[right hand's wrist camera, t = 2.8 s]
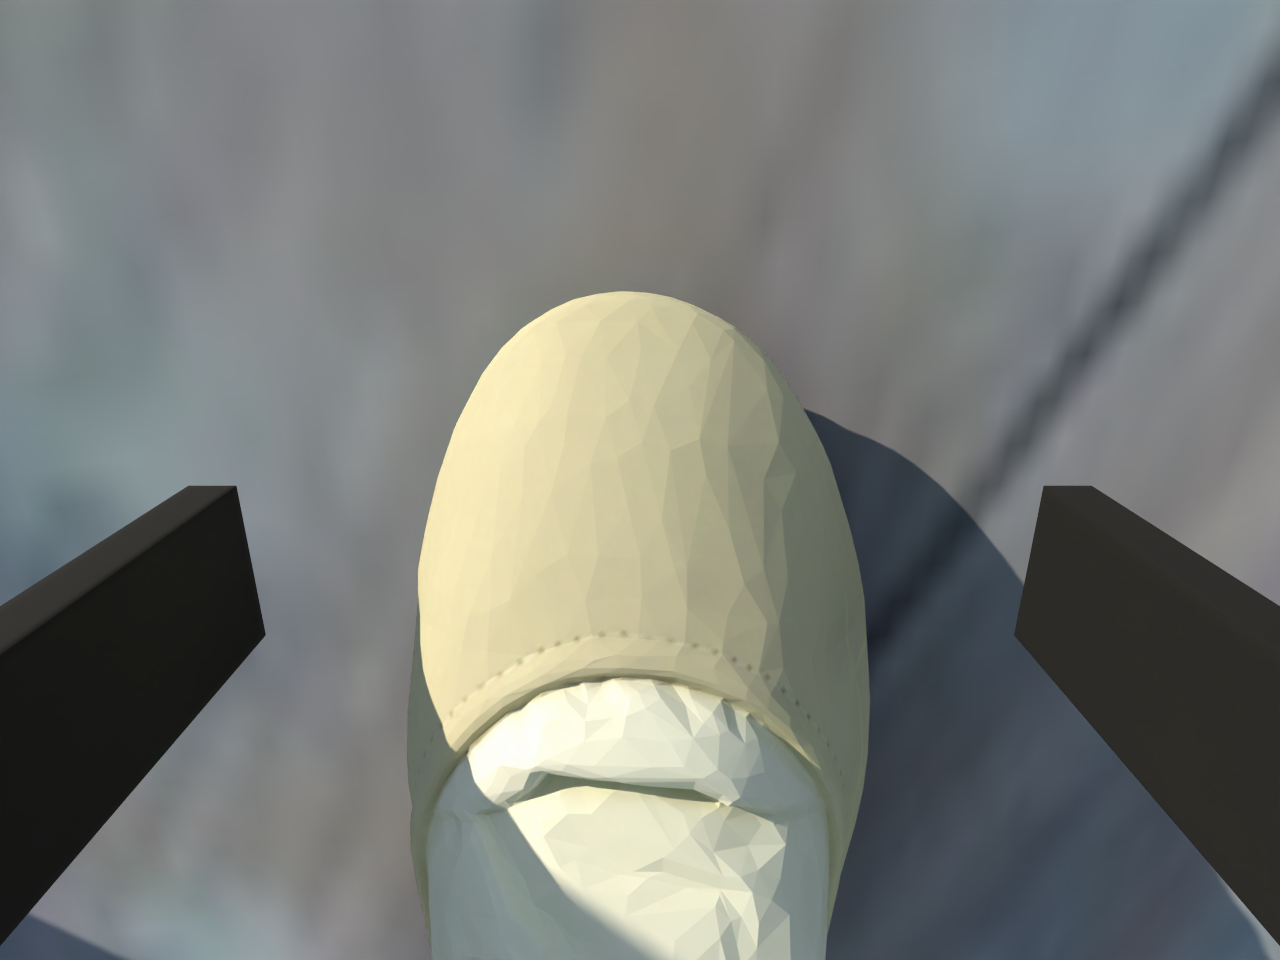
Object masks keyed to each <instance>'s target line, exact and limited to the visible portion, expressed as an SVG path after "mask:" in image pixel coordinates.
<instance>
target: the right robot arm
mask: <svg viewBox="0 0 1280 960" xmlns="http://www.w3.org/2000/svg"><path fill="white" fill-rule="evenodd" d="M265 635H266V634H265V629H264V624H263V619H262V614H261V609H260V604H259V599H258V594H257V589H256V584H255V578H254V573H253V568H252V563H251V558H250V553H249V548H248V543H247V538H246V533H245V528H244V523H243V517H242V512H241V507H240V502H239V497H238V492H237V487H236V486H187V487H186V488H184V489H183V490H181V491H180V492H178V493H177V494H175V495H173V496H172V497H170V498H169V499H167V500H166V501H164V502H162V503H161V504H159V505H158V506H156V507H155V508H153V509H152V510H150V511H148V512H147V513H145V514H144V515H142V516H141V517H139V518H137V519H136V520H134V521H133V522H131V523H130V524H128V525H127V526H125V527H123V528H122V529H120V530H119V531H117V532H116V533H114V534H112V535H111V536H109V537H108V538H106V539H105V540H103V541H102V542H100V543H98V544H97V545H95V546H94V547H92V548H91V549H89V550H87V551H86V552H84V553H83V554H81V555H80V556H78V557H77V558H75V559H73V560H72V561H70V562H69V563H67V564H66V565H64V566H62V567H61V568H59V569H58V570H56V571H55V572H53V573H52V574H50V575H48V576H47V577H45V578H44V579H42V580H41V581H39V582H37V583H36V584H34V585H33V586H31V587H30V588H28V589H27V590H25V591H23V592H22V593H20V594H19V595H17V596H16V597H14V598H12V599H11V600H9V601H8V602H6V603H5V604H3V605H2V606H0V945H1V944H2V943H3V942H4V941H5V940H6V938H7V937H8V936H9V935H10V934H11V933H12V931H13V930H14V929H15V928H16V927H17V926H18V924H19V923H20V922H21V921H22V920H23V919H24V917H25V916H26V915H27V914H28V913H29V912H30V910H31V909H32V908H33V907H34V906H35V904H36V903H37V902H38V901H39V900H40V899H41V897H42V896H43V895H44V894H45V893H46V892H47V890H48V889H49V888H50V887H51V886H52V885H53V883H54V882H55V881H56V880H57V879H58V878H59V876H60V875H61V874H62V873H63V872H64V871H65V869H66V868H67V867H68V866H69V865H70V864H71V862H72V861H73V860H74V859H75V858H76V856H77V855H78V854H79V853H80V852H81V851H82V849H83V848H84V847H85V846H86V845H87V844H88V842H89V841H90V840H91V839H92V838H93V837H94V835H95V834H96V833H97V832H98V831H99V830H100V828H101V827H102V826H103V825H104V824H105V823H106V821H107V820H108V819H109V818H110V817H111V816H112V814H113V813H114V812H115V811H116V810H117V809H118V807H119V806H120V805H121V804H122V803H123V801H124V800H125V799H126V798H127V797H128V796H129V794H130V793H131V792H132V791H133V790H134V789H135V787H136V786H137V785H138V784H139V783H140V782H141V780H142V779H143V778H144V777H145V776H146V775H147V773H148V772H149V771H150V770H151V769H152V768H153V766H154V765H155V764H156V763H157V762H158V761H159V759H160V758H161V757H162V756H163V755H164V753H165V752H166V751H167V750H168V749H169V748H170V746H171V745H172V744H173V743H174V742H175V741H176V739H177V738H178V737H179V736H180V735H181V734H182V732H183V731H184V730H185V729H186V728H187V727H188V725H189V724H190V723H191V722H192V721H193V720H194V718H195V717H196V716H197V715H198V714H199V713H200V711H201V710H202V709H203V708H204V707H205V706H206V704H207V703H208V702H209V701H210V700H211V698H212V697H213V696H214V695H215V694H216V693H217V691H218V690H219V689H220V688H221V687H222V686H223V684H224V683H225V682H226V681H227V680H228V679H229V677H230V676H231V675H232V674H233V673H234V672H235V670H236V669H237V668H238V667H239V666H240V665H241V663H242V662H243V661H244V660H245V659H246V658H247V656H248V655H249V654H250V653H251V652H252V650H253V649H254V648H255V647H256V646H257V645H258V643H259V642H260V641H261V640H262V639H263V638H264V636H265ZM1015 636H1016V638H1017V639H1018V640H1019V641H1020V642H1021V643H1022V645H1023V646H1024V647H1025V648H1026V649H1027V650H1028V652H1029V653H1030V654H1031V655H1032V656H1033V657H1034V659H1035V660H1036V661H1037V662H1038V663H1039V664H1040V666H1041V667H1042V668H1043V669H1044V670H1045V672H1046V673H1047V674H1048V675H1049V676H1050V677H1051V679H1052V680H1053V681H1054V682H1055V683H1056V684H1057V686H1058V687H1059V688H1060V689H1061V690H1062V691H1063V693H1064V694H1065V695H1066V696H1067V697H1068V698H1069V700H1070V701H1071V702H1072V703H1073V704H1074V705H1075V707H1076V708H1077V709H1078V710H1079V711H1080V712H1081V714H1082V715H1083V716H1084V717H1085V718H1086V720H1087V721H1088V722H1089V723H1090V724H1091V725H1092V727H1093V728H1094V729H1095V730H1096V731H1097V732H1098V734H1099V735H1100V736H1101V737H1102V738H1103V739H1104V741H1105V742H1106V743H1107V744H1108V745H1109V746H1110V748H1111V749H1112V750H1113V751H1114V752H1115V753H1116V755H1117V756H1118V757H1119V758H1120V759H1121V760H1122V762H1123V763H1124V764H1125V765H1126V766H1127V768H1128V769H1129V770H1130V771H1131V772H1132V773H1133V775H1134V776H1135V777H1136V778H1137V779H1138V780H1139V782H1140V783H1141V784H1142V785H1143V786H1144V787H1145V789H1146V790H1147V791H1148V792H1149V793H1150V794H1151V796H1152V797H1153V798H1154V799H1155V800H1156V801H1157V803H1158V804H1159V805H1160V806H1161V807H1162V808H1163V810H1164V811H1165V812H1166V813H1167V814H1168V815H1169V817H1170V818H1171V819H1172V820H1173V821H1174V823H1175V824H1176V825H1177V826H1178V827H1179V828H1180V830H1181V831H1182V832H1183V833H1184V834H1185V835H1186V837H1187V838H1188V839H1189V840H1190V841H1191V842H1192V844H1193V845H1194V846H1195V847H1196V848H1197V849H1198V851H1199V852H1200V853H1201V854H1202V855H1203V856H1204V858H1205V859H1206V860H1207V861H1208V862H1209V863H1210V865H1211V866H1212V867H1213V868H1214V869H1215V871H1216V872H1217V873H1218V874H1219V875H1220V876H1221V878H1222V879H1223V880H1224V881H1225V882H1226V883H1227V885H1228V886H1229V887H1230V888H1231V889H1232V890H1233V892H1234V893H1235V894H1236V895H1237V896H1238V897H1239V899H1240V900H1241V901H1242V902H1243V903H1244V904H1245V906H1246V907H1247V908H1248V909H1249V910H1250V911H1251V913H1252V914H1253V915H1254V916H1255V917H1256V918H1257V920H1258V921H1259V922H1260V923H1261V924H1262V926H1263V927H1264V928H1265V929H1266V930H1267V931H1268V933H1269V934H1270V935H1271V936H1272V937H1273V938H1274V940H1275V941H1276V942H1277V943H1278V944H1279V945H1280V606H1278V605H1277V604H1275V603H1274V602H1272V601H1271V600H1269V599H1268V598H1266V597H1264V596H1263V595H1261V594H1260V593H1258V592H1257V591H1255V590H1253V589H1252V588H1250V587H1249V586H1247V585H1246V584H1244V583H1243V582H1241V581H1239V580H1238V579H1236V578H1235V577H1233V576H1232V575H1230V574H1228V573H1227V572H1225V571H1224V570H1222V569H1221V568H1219V567H1218V566H1216V565H1214V564H1213V563H1211V562H1210V561H1208V560H1207V559H1205V558H1203V557H1202V556H1200V555H1199V554H1197V553H1196V552H1194V551H1193V550H1191V549H1189V548H1188V547H1186V546H1185V545H1183V544H1182V543H1180V542H1178V541H1177V540H1175V539H1174V538H1172V537H1171V536H1169V535H1168V534H1166V533H1164V532H1163V531H1161V530H1160V529H1158V528H1157V527H1155V526H1153V525H1152V524H1150V523H1149V522H1147V521H1146V520H1144V519H1143V518H1141V517H1139V516H1138V515H1136V514H1135V513H1133V512H1132V511H1130V510H1128V509H1127V508H1125V507H1124V506H1122V505H1121V504H1119V503H1118V502H1116V501H1114V500H1113V499H1111V498H1110V497H1108V496H1107V495H1105V494H1103V493H1102V492H1100V491H1099V490H1097V489H1096V488H1094V487H1093V486H1044V487H1043V492H1042V497H1041V502H1040V507H1039V513H1038V518H1037V523H1036V528H1035V533H1034V538H1033V543H1032V548H1031V553H1030V558H1029V563H1028V568H1027V574H1026V579H1025V584H1024V589H1023V594H1022V599H1021V604H1020V609H1019V614H1018V619H1017V624H1016V629H1015Z"/></svg>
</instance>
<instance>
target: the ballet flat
mask: <svg viewBox="0 0 1280 960" xmlns="http://www.w3.org/2000/svg"><path fill="white" fill-rule="evenodd" d="M869 715H870V688H869V667H868V651H867V635H866V616H865V599H864V593H863V587H862V581H861V575H860V569H859V564H858V559H857V555H856V551H855V547H854V543H853V538H852V534H851V530H850V526H849V523H848V520H847V516H846V513H845V510H844V507H843V503H842V500H841V497H840V493H839V490H838V487H837V483H836V480H835V477H834V474H833V470H832V467H831V464H830V462H829V459H828V457H827V454H826V452H825V450H824V447H823V445H822V443H821V441H820V439H819V437H818V435H817V433H816V431H815V429H814V427H813V425H812V423H811V422H810V420H809V418H808V416H807V415H806V413H805V411H804V409H803V407H802V406H801V404H800V402H799V400H798V398H797V397H796V395H795V393H794V392H793V390H792V389H791V387H790V386H789V384H788V382H787V381H786V379H785V378H784V376H783V375H782V373H781V372H780V370H779V369H778V368H777V367H776V365H775V364H774V363H773V362H772V360H771V359H770V358H769V357H768V356H767V354H766V353H765V352H764V351H763V350H762V349H761V348H760V347H759V346H757V345H756V344H755V343H754V342H753V341H752V340H750V339H749V338H748V337H747V336H746V335H745V334H744V333H742V332H741V331H740V330H738V329H737V328H736V327H734V326H732V325H731V324H729V323H727V322H726V321H724V320H722V319H721V318H719V317H717V316H715V315H713V314H711V313H709V312H706V311H704V310H702V309H700V308H698V307H696V306H694V305H692V304H689V303H686V302H683V301H680V300H677V299H675V298H672V297H668V296H662V295H657V294H652V293H643V292H621V291H618V292H610V293H602V294H595V295H591V296H586V297H582V298H577V299H573V300H571V301H569V302H567V303H565V304H562V305H560V306H558V307H556V308H553V309H552V310H550V311H548V312H547V313H545V314H543V315H542V316H540V317H539V318H537V319H535V320H534V321H532V322H531V323H529V324H528V325H526V326H525V327H523V328H522V329H521V330H520V331H519V332H518V333H517V334H516V335H515V336H514V337H513V338H512V339H511V340H509V341H508V342H507V343H506V344H505V345H504V346H503V347H502V348H501V349H500V351H499V352H498V353H497V355H496V356H495V357H494V359H493V360H492V361H491V363H490V364H489V366H488V367H487V368H486V370H485V371H484V372H483V374H482V376H481V377H480V379H479V381H478V383H477V385H476V387H475V389H474V391H473V393H472V394H471V396H470V398H469V400H468V402H467V404H466V406H465V408H464V410H463V412H462V414H461V416H460V418H459V420H458V422H457V424H456V426H455V429H454V431H453V434H452V437H451V440H450V443H449V446H448V449H447V452H446V455H445V458H444V461H443V464H442V467H441V470H440V473H439V476H438V479H437V483H436V487H435V491H434V495H433V499H432V504H431V508H430V512H429V516H428V521H427V525H426V530H425V535H424V540H423V546H422V551H421V556H420V562H419V567H418V608H417V620H416V633H415V644H414V655H413V665H412V676H411V686H410V697H409V706H408V729H407V763H408V781H409V789H410V794H411V800H412V814H411V822H410V834H411V852H412V859H413V865H414V871H415V878H416V883H417V887H418V892H419V896H420V901H421V905H422V909H423V914H424V918H425V923H426V927H427V932H428V937H429V942H430V947H431V952H432V960H825V957H826V943H827V934H828V930H829V926H830V921H831V917H832V913H833V908H834V904H835V900H836V895H837V891H838V886H839V881H840V875H841V872H842V869H843V865H844V862H845V858H846V855H847V851H848V848H849V845H850V841H851V838H852V834H853V831H854V827H855V824H856V819H857V815H858V810H859V806H860V801H861V797H862V792H863V787H864V780H865V772H866V764H867V757H868V740H869Z"/></svg>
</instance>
